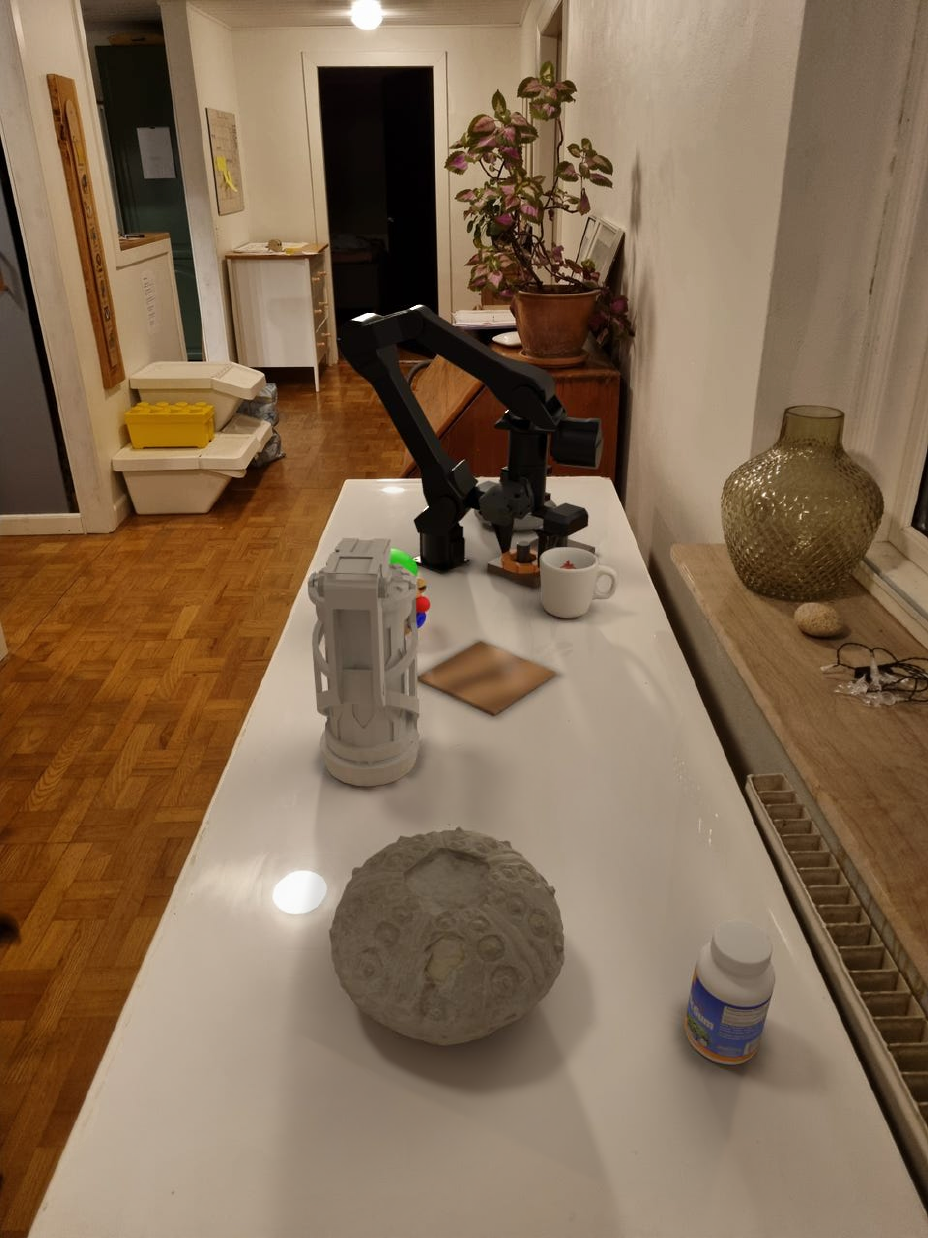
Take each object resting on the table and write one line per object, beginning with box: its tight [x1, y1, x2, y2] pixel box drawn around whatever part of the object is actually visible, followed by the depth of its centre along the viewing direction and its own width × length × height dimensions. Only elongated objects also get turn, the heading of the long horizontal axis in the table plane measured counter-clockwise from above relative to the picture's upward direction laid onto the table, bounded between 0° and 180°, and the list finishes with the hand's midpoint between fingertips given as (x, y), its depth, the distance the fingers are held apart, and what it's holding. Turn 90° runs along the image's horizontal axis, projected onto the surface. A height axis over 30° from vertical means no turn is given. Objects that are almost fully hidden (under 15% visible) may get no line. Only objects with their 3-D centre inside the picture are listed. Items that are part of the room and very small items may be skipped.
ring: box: [500, 548, 540, 574], centre depth 138 cm, size 6×6×1 cm
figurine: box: [390, 548, 431, 636], centre depth 118 cm, size 11×10×12 cm
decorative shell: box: [328, 826, 565, 1046], centre depth 70 cm, size 18×18×10 cm
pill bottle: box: [684, 918, 776, 1066], centre depth 65 cm, size 5×5×10 cm
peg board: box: [486, 536, 596, 589], centre depth 141 cm, size 9×16×5 cm, turn 140°
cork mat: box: [417, 640, 556, 716], centre depth 112 cm, size 12×12×1 cm
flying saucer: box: [473, 498, 558, 531], centre depth 157 cm, size 15×15×6 cm
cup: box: [540, 547, 619, 619], centre depth 127 cm, size 11×8×8 cm
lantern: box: [307, 537, 421, 788], centre depth 90 cm, size 13×10×25 cm
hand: (522, 560), depth 138 cm, fingers closed on ring, 6 cm apart
